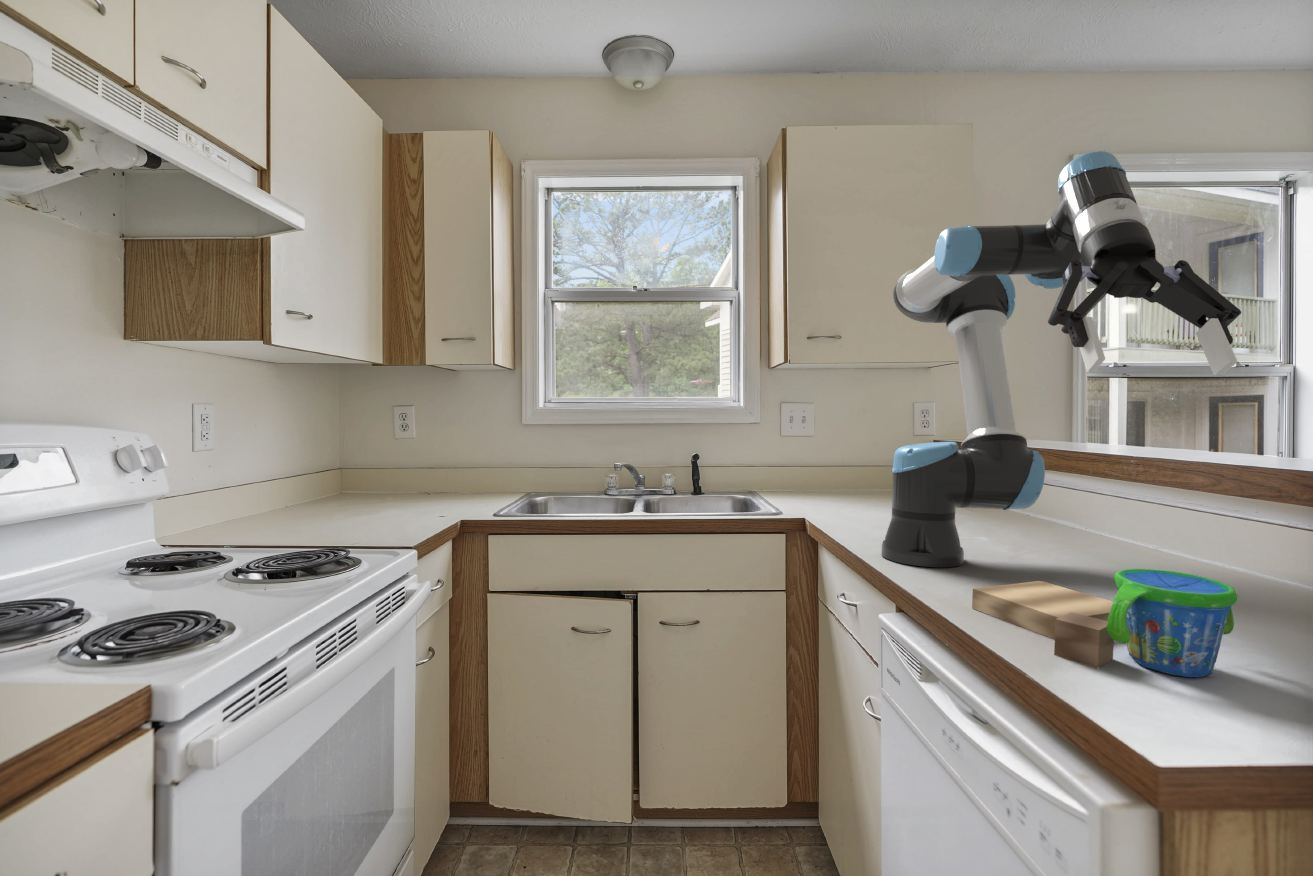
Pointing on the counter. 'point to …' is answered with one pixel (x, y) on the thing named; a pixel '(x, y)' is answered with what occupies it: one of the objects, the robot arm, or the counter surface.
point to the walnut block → (1083, 639)
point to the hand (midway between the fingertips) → (1160, 367)
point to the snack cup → (1171, 619)
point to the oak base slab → (1037, 604)
